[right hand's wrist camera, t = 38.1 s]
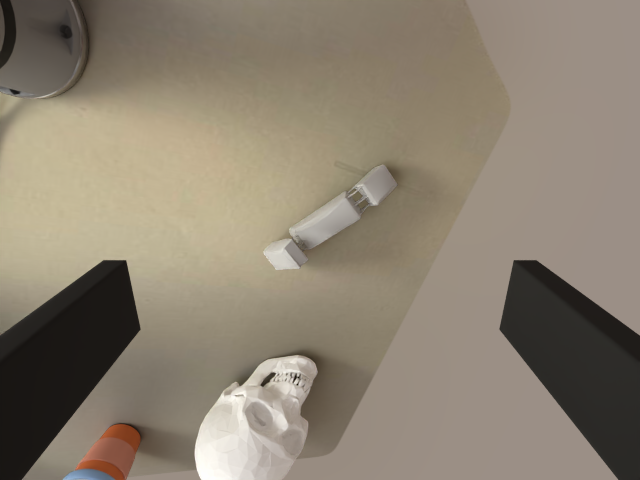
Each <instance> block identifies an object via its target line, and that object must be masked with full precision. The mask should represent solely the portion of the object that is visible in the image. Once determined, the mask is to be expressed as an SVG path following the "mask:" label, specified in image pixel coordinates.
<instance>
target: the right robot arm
mask: <svg viewBox="0 0 640 480" xmlns="http://www.w3.org/2000/svg"><path fill="white" fill-rule="evenodd" d="M88 50H89V40H88V31H87V26H86V22H85V18H84V15H83V13H82V10H81V8H80V6H79V4H78V1H77V0H0V92H2V93H5V94H8V95H12V96H15V97H21V98H37V99H39V98H50V97H54V96H57V95H60V94H62V93H64V92H65V91H67V90H68V89H70V88H71V87H72V86H73V85H74V84H75V83H76V82H77V81H78V79H79V78H80V76H81V75H82V72H83V70H84V68H85V65H86V62H87V58H88ZM139 331H140V324H139V320H138V315H137V310H136V305H135V300H134V296H133V291H132V286H131V281H130V276H129V272H128V267H127V262H126V260H103V261H102V262H101V263H99V264H98V265H96V266H95V267H94V268H92V269H91V270H90V271H88V272H87V273H86V274H84V275H83V276H81V277H80V278H79V279H77V280H76V281H75V282H73V283H72V284H70V285H69V286H68V287H66V288H65V289H64V290H62V291H61V292H59V293H58V294H57V295H55V296H54V297H53V298H51V299H50V300H48V301H47V302H46V303H44V304H43V305H42V306H40V307H39V308H38V309H36V310H35V311H33V312H32V313H31V314H29V315H28V316H27V317H25V318H24V319H22V320H21V321H20V322H18V323H17V324H16V325H14V326H13V327H11V328H10V329H9V330H7V331H6V332H5V333H3V334H2V335H0V480H22V478H23V477H24V476H25V475H26V473H27V472H28V471H29V470H30V468H31V467H32V466H33V465H34V463H35V462H36V461H37V460H38V458H39V457H40V456H41V454H42V453H43V452H44V451H45V449H46V448H47V447H48V446H49V444H50V443H51V442H52V441H53V439H54V438H55V437H56V436H57V434H58V433H59V432H60V430H61V429H62V428H63V427H64V425H65V424H66V423H67V422H68V420H69V419H70V418H71V417H72V415H73V414H74V413H75V412H76V410H77V409H78V408H79V406H80V405H81V404H82V403H83V401H84V400H85V399H86V398H87V396H88V395H89V394H90V393H91V391H92V390H93V389H94V388H95V386H96V385H97V384H98V382H99V381H100V380H101V379H102V377H103V376H104V375H105V374H106V372H107V371H108V370H109V369H110V367H111V366H112V365H113V363H114V362H115V361H116V360H117V358H118V357H119V356H120V355H121V353H122V352H123V351H124V350H125V348H126V347H127V346H128V345H129V343H130V342H131V341H132V339H133V338H134V337H135V336H136V334H137V333H138V332H139ZM500 331H501V332H502V333H503V334H504V336H505V337H506V338H507V339H508V341H509V342H510V343H511V345H512V346H513V347H514V348H515V350H516V351H517V352H518V353H519V355H520V356H521V357H522V358H523V360H524V361H525V362H526V363H527V365H528V366H529V367H530V369H531V370H532V371H533V372H534V374H535V375H536V376H537V377H538V379H539V380H540V381H541V382H542V384H543V385H544V386H545V387H546V389H547V390H548V391H549V393H550V394H551V395H552V396H553V398H554V399H555V400H556V401H557V403H558V404H559V405H560V406H561V408H562V409H563V410H564V411H565V413H566V414H567V415H568V417H569V418H570V419H571V420H572V422H573V423H574V424H575V425H576V427H577V428H578V429H579V430H580V432H581V433H582V434H583V436H584V437H585V438H586V439H587V441H588V442H589V443H590V444H591V446H592V447H593V448H594V449H595V451H596V452H597V453H598V454H599V456H600V457H601V458H602V459H603V461H604V462H605V463H606V465H607V466H608V467H609V468H610V470H611V471H612V472H613V473H614V475H615V476H616V477H617V478H618V480H640V335H638V334H637V333H635V332H634V331H633V330H631V329H630V328H629V327H627V326H626V325H624V324H623V323H622V322H620V321H619V320H618V319H616V318H615V317H613V316H612V315H611V314H609V313H608V312H607V311H605V310H604V309H602V308H601V307H600V306H598V305H597V304H596V303H594V302H593V301H592V300H590V299H589V298H587V297H586V296H585V295H583V294H582V293H581V292H579V291H578V290H576V289H575V288H574V287H572V286H571V285H570V284H568V283H567V282H565V281H564V280H563V279H561V278H560V277H559V276H557V275H556V274H554V273H553V272H552V271H550V270H549V269H548V268H546V267H545V266H544V265H542V264H541V263H539V262H538V261H536V260H514V262H513V267H512V272H511V276H510V281H509V286H508V291H507V296H506V300H505V305H504V310H503V315H502V320H501V324H500Z"/></svg>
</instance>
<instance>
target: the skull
mask: <svg viewBox="0 0 640 480" xmlns="http://www.w3.org/2000/svg"><path fill="white" fill-rule="evenodd" d="M273 372H275V373H277V374H276V375H275V376H274V378H272V379H271V380H270V382H269V383H267V384H266V385H265V386H264V387H262V386H260V385H261V383H262V382H263V380H264V379H265V378H266V377H267V376H268V375H269V374H271V373H273ZM290 373H292V377H293V378H291V376H290ZM296 373H297V377H299V375H300V374H301V376H300V379H301V380H300V381H299V379H298V378H297V379H296V380H295V382H294V383H292V382H293V379H294V377H295V374H296ZM317 373H318V371H317V368H316V365H315V363H314V362H313V361H312V360H311V359H309V358H307V357H305V356H300V355H294V356H287V357H280V358H273V359H268V360H266V361H264V362H262V363H261V364H260V365H259V366H258V367H257V369H256V370H255V371H254V373H253V374H252V375H251V376H250V377H249V379H248V380H247V381H246V382H245V383H244V384H243V385H242V386H239V384H238V383H237V382H234V383H232V384H231V385H230V386H229V387H228V388H226V389H224V390H223V392H222V394H221V396H220V398H219V399H218V401H217V402H216V403H215V404H214V406H213V407H212V408H211V409H210V411H209V412H208V414H207V415H206V417H205V418H204V420H203V422H202V424H201V426H200V430H199V433H198V437H197V441H196V445H195V460H196V466H197V471H198V474H199V476H200V478H201V480H282V479H283V478H284V477H285V476H286V474H287V473H288V472H289V470H290V468H291V467H292V465H293V463H294V461H295V460H296V458H297V457H298V455H299V454H300V453H301V451H302V448H303V446H304V443H305V440H306V437H307V432H308V421H307V420H305V419H304V418H303V417H302V416H301V415H300V414H301V406H302V404H303V402H304V401H305V399H306V397H307V395H308V394H309V391H310V389H311V388H310V387H311V386H312V383H313V380H314V378H315V377H316V375H317ZM278 374H279V375H278ZM282 374H283V375H282ZM286 374H287V375H286ZM290 378H291V379H290ZM302 378H303V379H302ZM286 379H287V380H286ZM285 380H286V381H285ZM289 380H290V382H289ZM298 382H299V385H298V386H297V385H296V384H297V383H298Z"/></svg>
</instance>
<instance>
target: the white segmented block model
mask: <svg viewBox="0 0 640 480" xmlns="http://www.w3.org/2000/svg"><path fill="white" fill-rule="evenodd" d="M396 186H398V185H397V183H396V181H395V180H394V178H393V177H392V175H391V174H390V172H389V171H388V169H387V168H386V166H385V165H380V166H377V167H374V168H373V169H372V170H371V171H370V172H369V173H368V174H366V175H365V176H364V177H363V178H362V179H361V180H360V181H359V182H358V183H357V184H356V185H355V186H354V187H353V188H352V189H351V190H350V191H349V192H348V191H344V192H342V193H341V194H340V195H338V196H337V197H335V198H334V199H332V200H331V201H329V202H328V203H326V204H325V205H323V206H322V207H320V208H319V209H317V210H316V211H314V212H313V213H311V214H310V215H308V216H307V217H305V218H304V219H302V220H301V221H299V222H298V223H296V224H295V225H293V226H292V227H290V230H289V233H290V235H291V236H292V237H293V238H292V239H288V238H286V239H282V240H279V241H274V242H272V243H271V244H270V245H269V246H268V247H267V248H266V249H265V250H264V255H265V256H266V257H267V259H268V260H269V261H270V262H271V264H272V265H273V266H274V267H275V269H276V270H284V269H300V268H301V266H302V265H303V264H304V263H305V262H307V261H308V258H307V256H306V255H305V254H304V253H303V252H302V251H304V250H306V249H308V250H310V249H312V248H314V247H315V246H317V245H319V244H321V243H322V242H324V241H325V240H327V239H329V238H330V237H332V236H333V235H335V234H337V233H338V232H340V231H341V230H343V229H345V228H346V227H348V226H350V225H351V224H353V223H355V222H356V221H358V220H359V219H360V218H361V214H362V213H363V212H364V211H365V209H366V208H367V207H368V206H376V205H379V204H380V203H381V202H382V201H383V200H384V199H385V198H386V197H387V196H388V195H389V194H390V193H391V192H392V191H393V189H394V188H395V187H396ZM354 188H355V189H356V191H355V192H354V193H352V194H351V195H350V192H351V191H352V190H353V189H354ZM358 191H359V192H360V194H361V195H362V196H363V197H362V198H361V199H359V200H358V201H356V202H355V200H354V199H353V198H352V195H354V194H355V193H356V192H358ZM360 200H361V201H360ZM363 200H366V201H367V202H368V205H367V206H365V207H364V208H362V209H361V208H360V207H359V206H358V204H359V203H361V202H362V201H363ZM357 202H358V203H357ZM362 210H363V211H362ZM361 211H362V212H361ZM293 239H294V240H295V241H296V243H297V244H298V245H296V243H295V242H294V241H293ZM298 246H299V247H300V248H299V247H298ZM301 248H303V250H300V249H301Z"/></svg>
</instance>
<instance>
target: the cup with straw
mask: <svg viewBox="0 0 640 480" xmlns="http://www.w3.org/2000/svg"><path fill="white" fill-rule="evenodd" d="M140 441H141V437H140V435H139V433H138V431H137V430H135V429H134V428H133V427H131V426H128V425H125V424H116V425H113V426H111V427H109V428H108V429H107V431H106V432H105V433H104V434H103V436H102V437H101V438H100V439H99V440H98V441H97V442H96V443H95V444H94V445H93V446H92V448H91V449H90V450H89V451H88V453H87V454H86V455H85V457H84V458H83V459H82V460H81V462H80V463H79V464H78V465H77V467H76V469H75V471H73V472H71V473H69V474H68V475H67V476H66V477H65V478H64V479H63V480H126V479H127V476H128V474H129V471H130V469H131V466H132V464H133V462H134V459H135V454H136V451H137V449H138V447H139V444H140Z"/></svg>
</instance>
